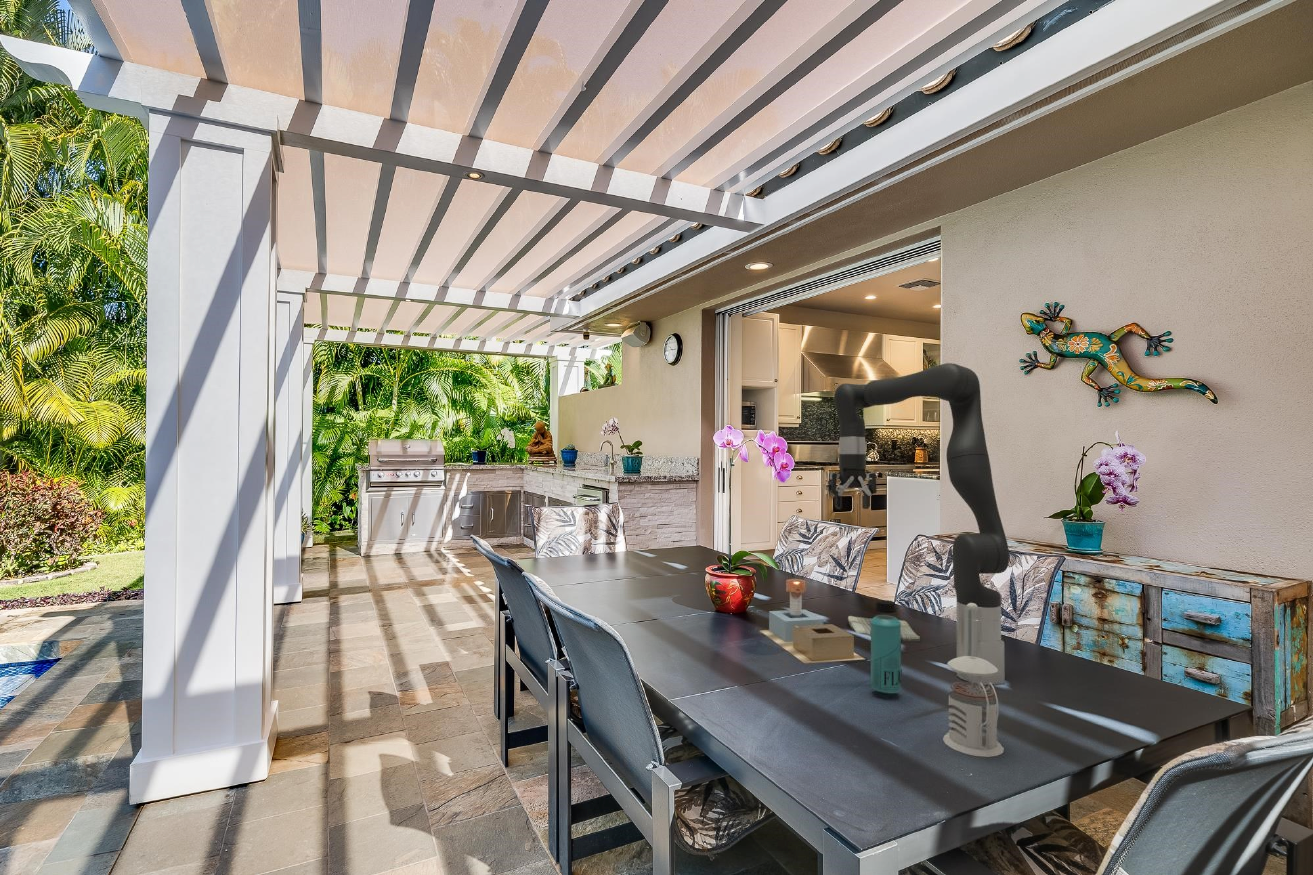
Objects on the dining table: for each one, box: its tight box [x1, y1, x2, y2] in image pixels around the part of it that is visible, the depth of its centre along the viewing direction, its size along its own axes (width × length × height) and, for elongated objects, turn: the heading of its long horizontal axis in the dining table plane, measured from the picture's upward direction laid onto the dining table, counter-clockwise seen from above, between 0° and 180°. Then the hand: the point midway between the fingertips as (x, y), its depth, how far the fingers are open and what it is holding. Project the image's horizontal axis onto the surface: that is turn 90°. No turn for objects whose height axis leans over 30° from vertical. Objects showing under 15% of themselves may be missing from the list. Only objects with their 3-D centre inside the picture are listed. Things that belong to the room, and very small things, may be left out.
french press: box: [942, 603, 1005, 758], centre depth 115 cm, size 10×12×25 cm
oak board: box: [759, 629, 865, 664], centre depth 170 cm, size 29×16×2 cm, turn 12°
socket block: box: [768, 609, 824, 642], centre depth 178 cm, size 11×11×6 cm
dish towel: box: [847, 615, 921, 642], centre depth 188 cm, size 19×18×3 cm
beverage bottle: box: [869, 599, 903, 694], centre depth 138 cm, size 6×7×20 cm
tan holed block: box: [793, 623, 855, 661], centre depth 162 cm, size 11×11×6 cm
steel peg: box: [785, 578, 807, 618], centre depth 178 cm, size 5×5×15 cm
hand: (852, 508), depth 186 cm, fingers open, 8 cm apart
